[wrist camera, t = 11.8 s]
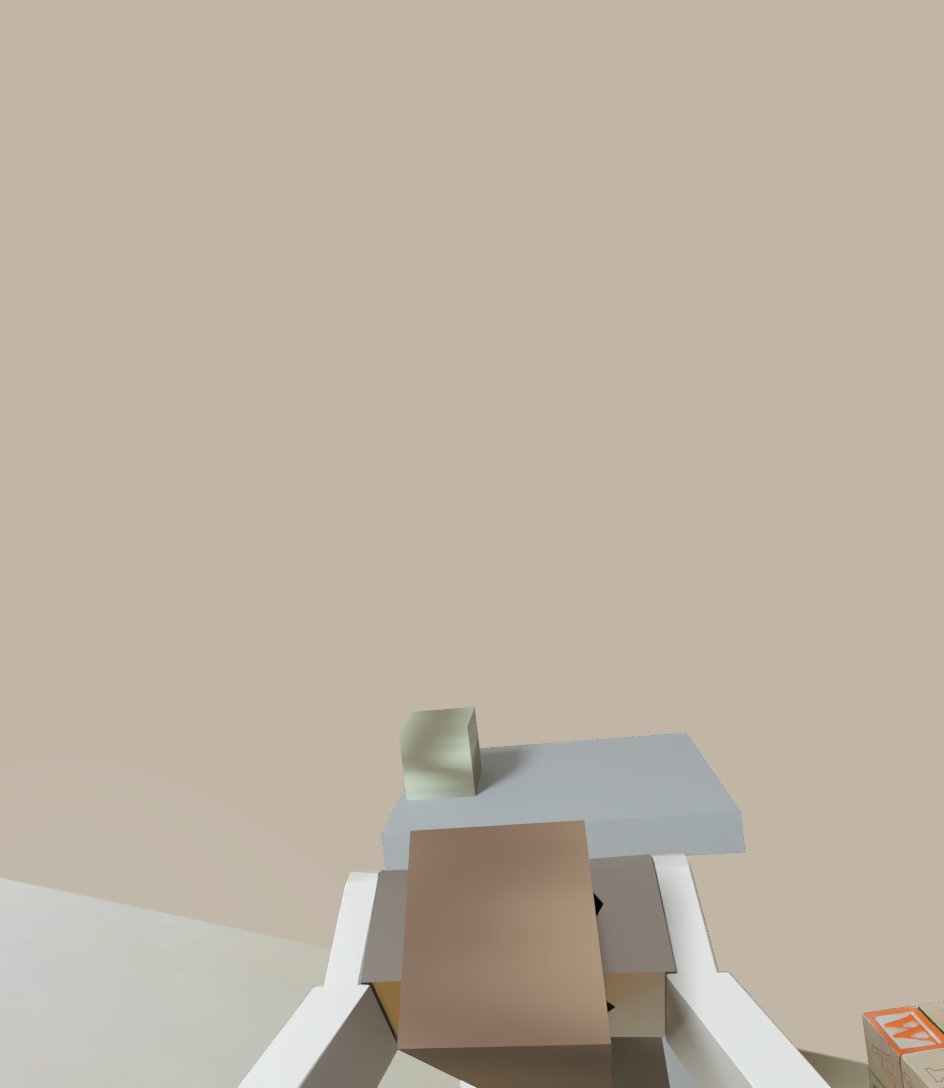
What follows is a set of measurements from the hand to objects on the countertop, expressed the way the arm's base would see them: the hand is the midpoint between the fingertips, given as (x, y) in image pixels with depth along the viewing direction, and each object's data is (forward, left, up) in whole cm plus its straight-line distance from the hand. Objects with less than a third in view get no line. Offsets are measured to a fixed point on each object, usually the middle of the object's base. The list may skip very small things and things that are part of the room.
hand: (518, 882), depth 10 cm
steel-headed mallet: (0, -3, -7) cm, 8 cm away
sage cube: (+7, -28, -9) cm, 30 cm away
